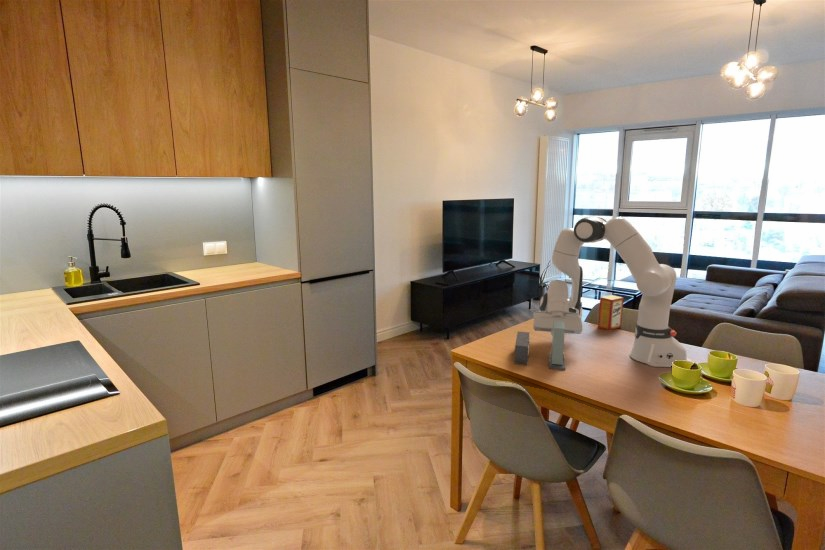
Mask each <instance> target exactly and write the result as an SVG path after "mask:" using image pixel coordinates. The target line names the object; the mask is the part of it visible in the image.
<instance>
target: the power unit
mask: <svg viewBox="0 0 825 550" xmlns="http://www.w3.org/2000/svg"><path fill="white" fill-rule="evenodd" d="M530 340H531V337H530V332H527V331H517V332H516V339H515V343H514V344H515V345H514V365H518V366H519V365H520V366H527V365H528V358H529V353H530Z"/></svg>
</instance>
